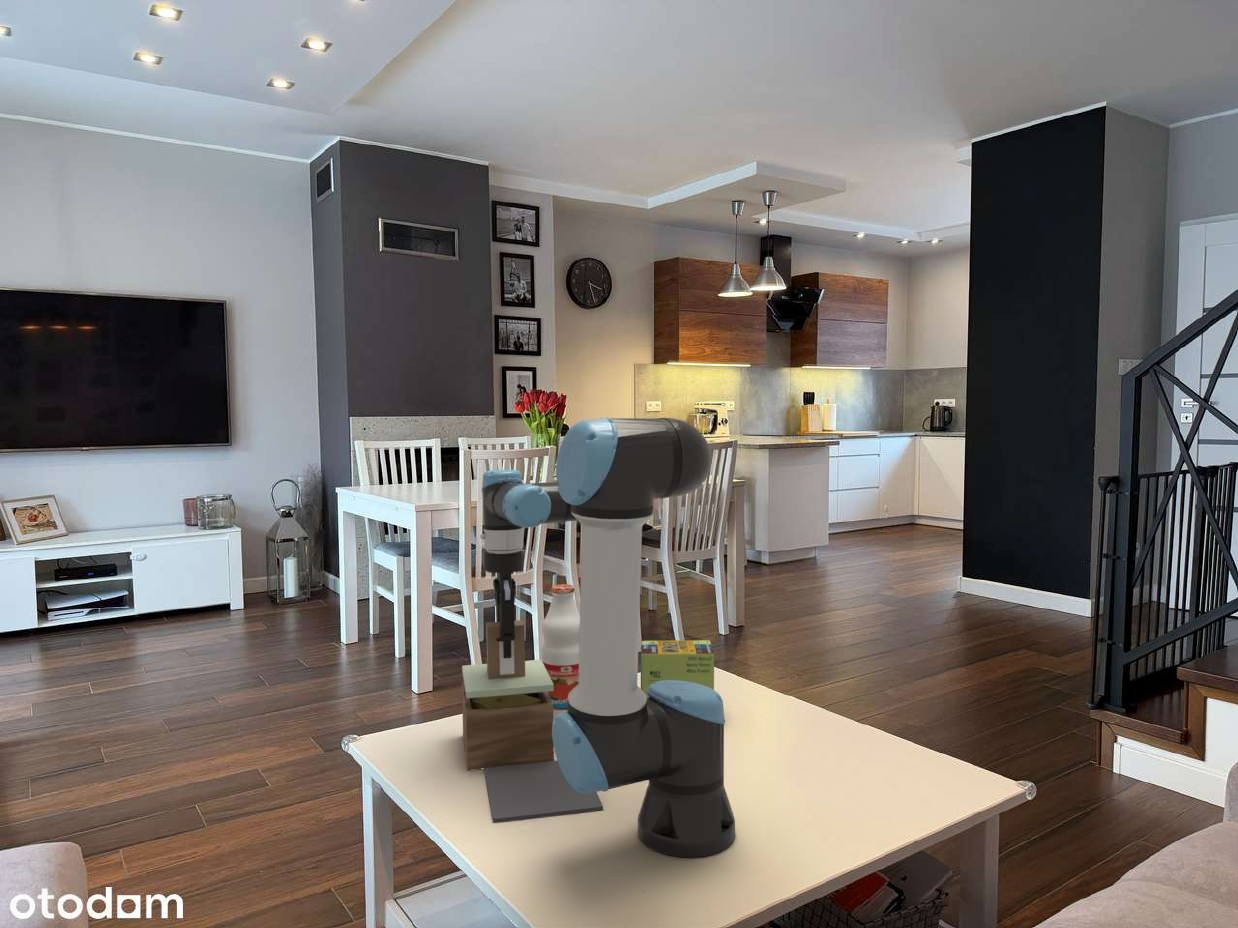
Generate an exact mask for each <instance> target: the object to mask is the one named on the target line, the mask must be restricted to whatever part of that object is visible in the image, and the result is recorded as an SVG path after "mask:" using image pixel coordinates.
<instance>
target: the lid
mask: <svg viewBox="0 0 1238 928" xmlns="http://www.w3.org/2000/svg"><path fill="white" fill-rule="evenodd" d="M514 629H515V639H514V674H505V675H500V654H499V642H497V641H496V638H500V622H496V621H488V622H485V631H486V632H485V635H486V636H485V639H486V640H485V641H486V642H485V643H486V663H481V664H480V663H479V664H467V665H466V664H465V665H462V666H461V667H462V668H461V672H462V679H463V683H464V686H465V692H466V698H477V697H489V696H501V695H513V694H524V693H536V692H548V691H554V684H553V682H552V680H551V678H550V676H549V674H548V672H547V670H546V668H545V666H544V664H543V662H542V659H531V660H526V643H525V641H526V639H525V638H526V636H525V623H524V621H523V620H522V619H521V620H514Z"/></svg>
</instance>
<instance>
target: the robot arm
mask: <svg viewBox="0 0 1238 928" xmlns="http://www.w3.org/2000/svg"><path fill="white" fill-rule="evenodd" d="M558 449H559V450H558V453H557V461H556V465H555V466H556V470H555V471H556V472H555V473H556V474H555V477H556V481H552V482H551V481H550V482H549V481H548V482H533V483H532V482H530V483H528V482H527V483H526V482H525V483H524V481H523V478H522V472H521V471H519V470H518V469H490V470H486V471H485V472H484V473H483V475H482V483H481V484H482V486H481V493H482V519H483V520H482V522H483V523H482V524H483V533H481V534H480V537H479V538H480V539H482V540H483V539H484V540H483V548H484V550H486V551H485V552H484V553H483V570H484V571H485V572H487V573H489V574H496V577H495V578H494V579H493V580H492V582H493V583H492V585H493V589H494V599H495V617H496V618H495V620H496V621H495V622H500V638H496V641H497V642H499V654H500V675H505V674H514V639H515V629H514V621H515V603H516V601H515V599H516V597H515V593H516V580H514V579H515V578H514V577H513V576H512V574H513V573H517V572H521V571H522V570H524V551H522V550H521V549H523V548H524V528H535V527H536V528H537V527H538V526H540V525H542V524H556V523H557V524H558V523H566V522H567V523H568V522H579V524H580V525H581V544H580V545H581V548H580V549H581V550H580V551H581V552H580V553H581V554H580V560H581V561H580V590H579V591H580V592H579V593H580V599H579V600H580V602H579V614H580V636H579V683H578V685H577V686H576V687H575V688H574V689H572V690H571V691H570V692H569V694H568V709H567V712H561V713H560V714H558V715H556V716H555V718H554V720H553V724H552V739H553V745H554V755H555V757H556V761H558V763H559V766H560V768H561V771H562V773H563V775H564V777H565V779H566V780H567V782H568V783H569V784H570V786H571V787H572V788H573V789H574V790H576V791H577V792H579V793H583V794H587V793H593V792H597V793H598V792H603V793H605V792H609V790H612V789H616V788H620V787H624V786H629V785H632V784H633V785H634V784H637V783H642V782H645V781H648V785H647V787H646V791H645V793H644V797H643V800H642V803H641V807H640V809H639V812H638V816H637V834H638V837H639V839H640V841H641V843H643V844H644V845H645V846H647V847H648V848H649V849H651V850H653V851H656V852H659V853H660V854H664V855H668V856H672V857H680V858H699V857H706V856H711V855H714V854H718V853H720V852H722V851H724V850H726V849H727V848H729V847H730V846H731V845H732V844H733V842H734V840H735V838H736V819H735V818H736V817H735V816H734V812H733V809H732V806H731V803H730V800H729V796H728V794H727V790H726V788H725V785H724V784H725V780H724V779H725V776H724V775H725V774H724V772H725V768H724V767H725V723H726V719H725V708H724V701H723V699H722V696H721V695H720V694H719V692H717V691H716V690H715V689H714V690H713V689H711V688H709V687H706V686H704V685H700V684H696V683H692V682H686V681H677V680H662V681H656V682H654V683H652V684H651V685H650V686H649V688H648V691H647V694H648V697H647V696H646V694H645V693H644V692H643V691H642V690H641V687H639V686H638V673H639V672H638V671H639V670H638V669H639V641H640V610H641V609H640V606H641V605H640V604H641V602H640V601H641V572H642V569H641V568H642V540H643V539H642V538H643V537H642V536H643V525H645V524H646V523H647V522H648V521H649V520H650V519H652V518H653V516H654V500H657V499H666V498H667V499H669V498H670V499H671V498H677V497H682V496H685V495H688V494H691V493H692V492H694V491H697V489H698V488H700V487H701V486H702V485H703V483H705V481H706V480H707V478H708V476H709V474H710V471H711V468H712V452H711V448H710V446H709V442H708V441H707V439H706V437H705V436H704V435H703V434H702V432H701V431H699V430H698V429H697V428H696V427H695V426H694V425H692V424H691V423H688V422H686V421H685V420H681V419H677V418H673V417H659V418H657V417H656V418H653V417H652V418H651V417H649V418H648V417H646V418H640V417H639V418H637V417H636V418H635V417H631V418H630V417H629V418H625V417H624V418H620V417H619V418H616V417H615V418H611V417H601V418H593V419H584V420H581V421H578V422H576V423H575V424H573V425H572V426H571V427H570V428H569V429H568V430H567V432H566V434H565V436H563V439H562V441H561V444H560V446H559V448H558ZM512 577H513V578H512Z"/></svg>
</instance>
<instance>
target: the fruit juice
mask: <svg viewBox="0 0 1238 928" xmlns="http://www.w3.org/2000/svg"><path fill="white" fill-rule="evenodd" d="M574 594H575V586H574V585H572V584H566V583H565V584H564V583H562V584H554V585H552V586H551V595H552V599H551V602H550V606H549V609H548V612H547V613H546V616H545V618H543V622H542V624H541V627H542V628H541V630H542V631H541V632H542V636H543V638H544V639H543V640H544V641H543V642H544V643H543V645H542V648H541V649H542V650H541V660H542V662H543V664H544V666H545V668H546V670H547V672H548V674H549V676H550V678H551V680H552V682H553V684H554V691H548V694H549V696H550V698H551V700H552V703H553V720H554V718H555V716H556V715H558V714H560V713H561V712H567V709H568V694H569V692H570V691H571V690H572V689H574V688H575V687H576V686H577V685H578V683H579V636H580V611H579V609H578V607H577V604H576V601H575V599H574Z"/></svg>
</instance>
